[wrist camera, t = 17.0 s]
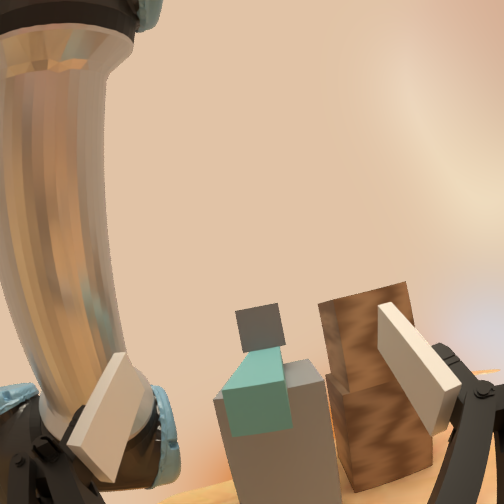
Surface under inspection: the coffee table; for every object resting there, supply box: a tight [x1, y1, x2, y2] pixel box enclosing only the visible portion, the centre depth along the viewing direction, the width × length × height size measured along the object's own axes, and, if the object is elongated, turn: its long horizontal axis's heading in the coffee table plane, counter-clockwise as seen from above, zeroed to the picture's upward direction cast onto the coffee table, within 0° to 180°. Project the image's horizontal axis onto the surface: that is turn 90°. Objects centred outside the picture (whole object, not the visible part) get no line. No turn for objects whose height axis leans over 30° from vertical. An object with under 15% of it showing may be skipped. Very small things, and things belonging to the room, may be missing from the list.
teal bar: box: [222, 303, 293, 437], centre depth 28 cm, size 5×24×8 cm, turn 176°
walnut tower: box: [318, 281, 433, 493], centre depth 40 cm, size 12×14×28 cm
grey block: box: [213, 359, 342, 504], centre depth 30 cm, size 10×14×21 cm
